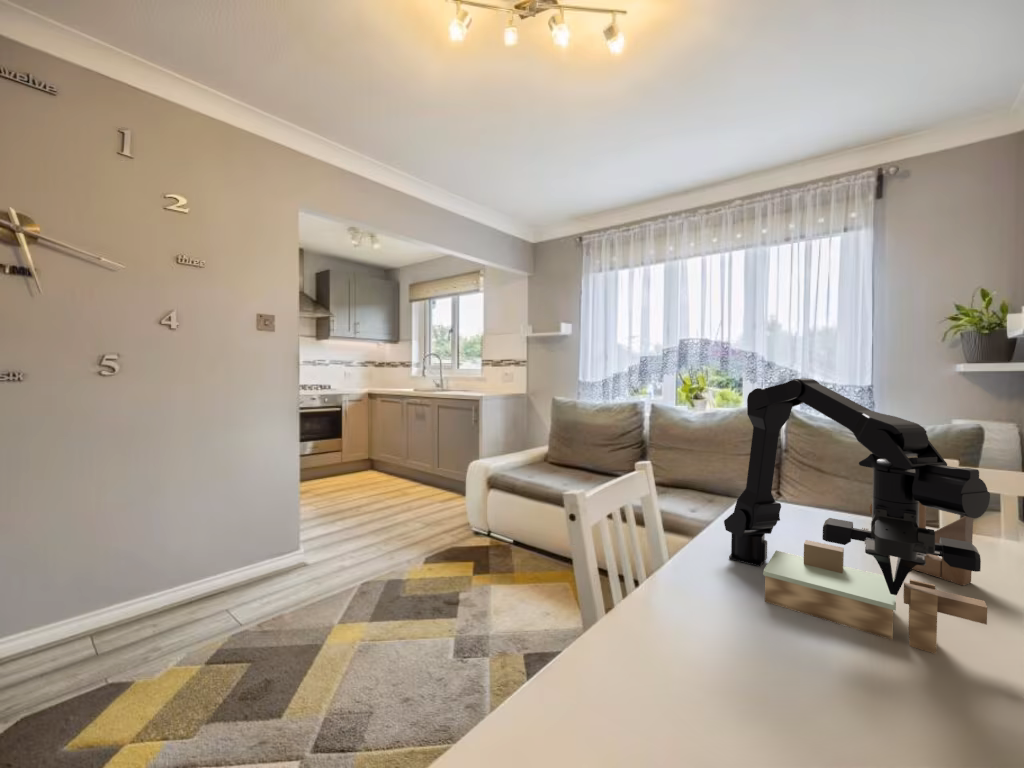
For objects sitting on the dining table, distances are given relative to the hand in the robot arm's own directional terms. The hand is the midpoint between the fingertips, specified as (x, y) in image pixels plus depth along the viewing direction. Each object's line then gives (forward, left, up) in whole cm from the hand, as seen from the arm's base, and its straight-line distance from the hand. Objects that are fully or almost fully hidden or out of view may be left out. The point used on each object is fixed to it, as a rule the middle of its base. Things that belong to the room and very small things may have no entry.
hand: (893, 594), depth 71 cm
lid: (-9, +4, -2) cm, 10 cm away
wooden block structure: (+7, +35, -7) cm, 36 cm away
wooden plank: (+6, 0, -1) cm, 6 cm away
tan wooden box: (-7, +4, -7) cm, 10 cm away
